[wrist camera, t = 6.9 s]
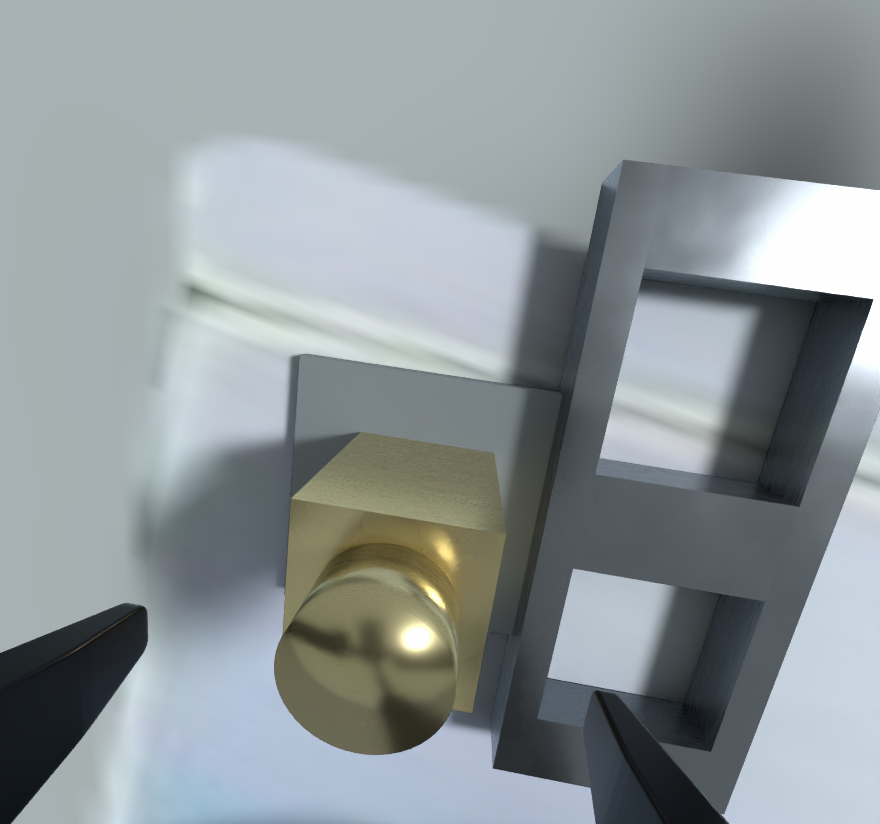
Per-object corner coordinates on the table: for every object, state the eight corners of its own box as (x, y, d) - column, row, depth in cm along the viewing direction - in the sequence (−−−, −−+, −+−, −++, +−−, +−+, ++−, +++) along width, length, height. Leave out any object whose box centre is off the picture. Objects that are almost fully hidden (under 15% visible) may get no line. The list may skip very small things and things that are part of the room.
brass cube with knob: (473, 573, 16) (471, 802, 8) (349, 551, 17) (235, 756, 9) (494, 452, 15) (514, 590, 7) (361, 431, 15) (244, 543, 8)
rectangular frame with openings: (697, 760, 18) (724, 814, 16) (490, 721, 18) (492, 768, 16) (888, 218, 13) (960, 200, 11) (602, 183, 14) (623, 159, 12)
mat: (522, 627, 17) (524, 638, 17) (290, 585, 18) (284, 594, 17) (572, 393, 15) (576, 396, 14) (306, 353, 16) (299, 354, 15)
